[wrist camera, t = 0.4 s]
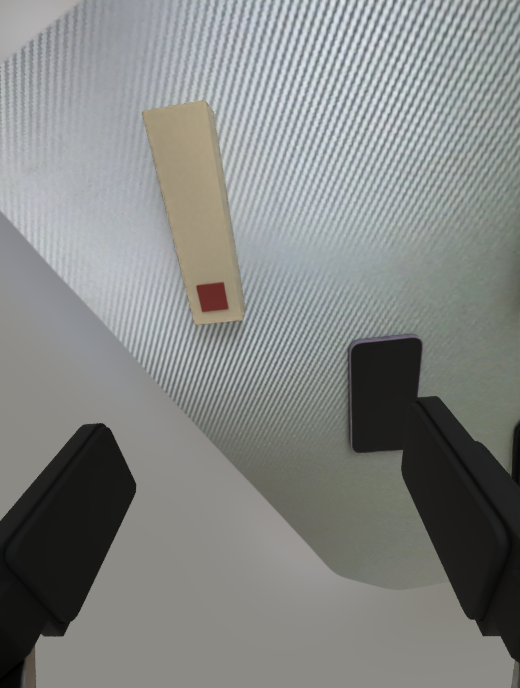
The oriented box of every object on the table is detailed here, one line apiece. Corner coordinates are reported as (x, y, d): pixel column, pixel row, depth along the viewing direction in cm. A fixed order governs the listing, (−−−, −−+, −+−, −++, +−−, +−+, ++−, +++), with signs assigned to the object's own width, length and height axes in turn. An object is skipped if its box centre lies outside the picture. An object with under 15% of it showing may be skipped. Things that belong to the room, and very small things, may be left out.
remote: (156, 120, 23) (139, 110, 20) (213, 110, 22) (204, 98, 19) (201, 313, 30) (193, 326, 27) (245, 309, 29) (242, 321, 26)
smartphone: (424, 335, 29) (413, 449, 35) (419, 331, 30) (409, 443, 36) (349, 343, 30) (351, 454, 36) (347, 338, 31) (349, 447, 37)
